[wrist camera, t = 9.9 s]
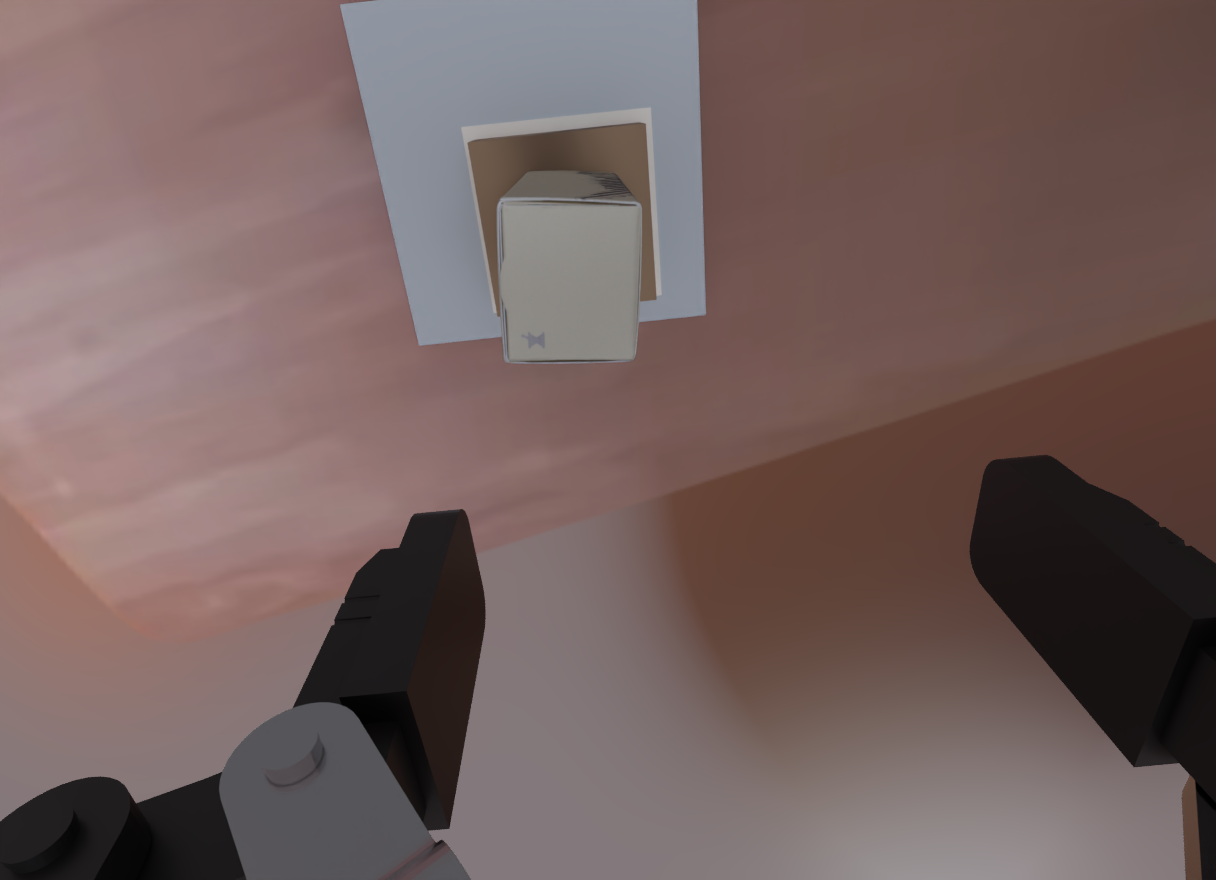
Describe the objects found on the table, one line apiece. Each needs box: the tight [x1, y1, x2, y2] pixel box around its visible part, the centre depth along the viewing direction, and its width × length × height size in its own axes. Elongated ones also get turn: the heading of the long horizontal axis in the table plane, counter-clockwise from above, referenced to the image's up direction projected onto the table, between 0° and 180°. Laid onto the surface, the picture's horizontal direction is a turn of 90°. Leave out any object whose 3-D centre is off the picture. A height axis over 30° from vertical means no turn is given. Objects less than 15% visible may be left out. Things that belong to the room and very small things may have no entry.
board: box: [340, 0, 706, 346], centre depth 34 cm, size 16×16×1 cm
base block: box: [467, 122, 657, 317], centre depth 33 cm, size 8×8×3 cm
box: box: [496, 170, 642, 364], centre depth 26 cm, size 5×4×13 cm
